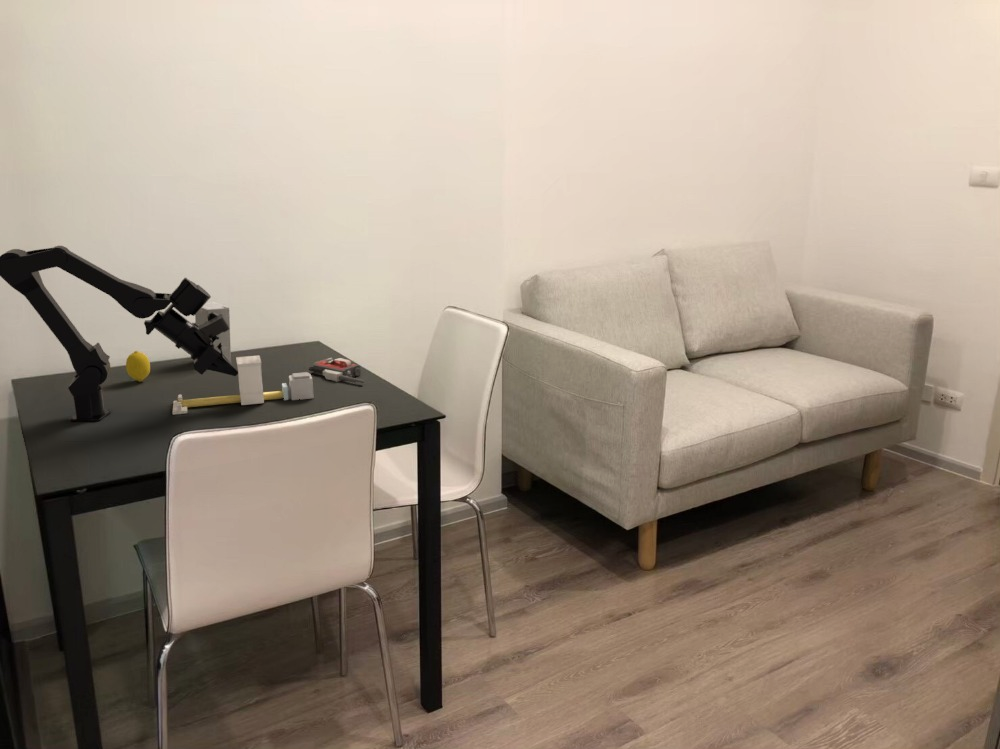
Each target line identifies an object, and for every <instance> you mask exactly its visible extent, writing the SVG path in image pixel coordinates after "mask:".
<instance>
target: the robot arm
mask: <svg viewBox="0 0 1000 749" xmlns="http://www.w3.org/2000/svg"><path fill="white" fill-rule="evenodd" d="M53 268H59V269H61V270H62V271H64V272H66V273H68V274H70V275H72V276H74V277H76V278H77V279H79V280H80V281H83V282H84V283H85V284H88V285H89V286H92V287H94V288H95V289H97V290H99V291H101V292H103V293H104V294H107V295H108V296H109V297H111V298H112V299H113V300H115V301H116V303H117V304H119V305H120V306H121V308H123V309H124V310H126V311H127V312H128V313H130V314H131V315H132V316H133V317H135V318H138V319H142V320H143V319H147V318H150V317H151V316H152V318H151V319H149V320H144V321H143V325H144V327H145V335H151V333H152V332H153V331H154V330H156V331H157V332H159V333H160V334H161V335H163V336H164V337H166V338H167V339H168V340H170V341H171V342H173V343H174V344H175V345H174V347H175V348H177V349H179V350H180V349H181V350H183V351H184V352H186V353H187V354H188V355H190V359H192V360H193V367H194V370H195V371H196V372H197V373H198V374H200V375H201V376H202V375H204V373H206V372H207V370H208V371H212V372H217V373H222V374H226V375H229V376H233V377H236V376H238V369H237V368H236V367H235V366H234V364H232V361H231V362H230V361H229V360H228V359H227V358H226V356H225V355H224V354H223V352H222V343H220V344H219V345H218V346H217V347H216V346H215V345H214V344H213V342H214V341H215V340H216V339H217V340H218V339H219V338H220V336H219V335H218V334H220V333H222V332H226V331H228V330H229V329H230V330H231V326H230V327H229V324H228V322H227V321H226V319H225V317H224V316H223V314H219V315H218V314H216V313H214V312H212V313H210V314H208V321H207V322H205V323H204V324H202V325H200V326H199V325H198V324H197V323H195V322H190V321H189V320H188V319H187V318H185V317H189V316H193V317H195V314H196V313H197V312H198V311H199V310H200V309H201V308H202V307H203V305H204V304H205V303H208V301H209V300H210V299H211V298H212V296H211V295H210V294H209V292H208V291H206V289H205V288H203V287H202V286H200V285H199V284H196V283H195V282H194V281H192V280H190V279H188V278H187V277H184V278H183V279H182V280H181V282H180V283H179V285H178V286H177V287H176V288H175V289H174V290H173V292H171V293H162V292H154V291H153V290H152V289H150V288H148V287H145V286H142V285H139V284H137V283H134V282H131V281H126V280H124V279H120V278H119V277H118V276H115V275H114V274H112V273H110V272H108V271H106V270H104V269H103V268H101V267H99V266H98V265H96V264H94V263H92V262H90V261H89V260H87V259H86V258H83V257H82V256H80V255H78V254H76V253H74V252H73V251H71V250H70V249H69V248H68V247H66V246H64V245H55V246H54V247H47V248H40V249H33V250H28V251H26V250H24V249H20V248H13V249H10V250H8V251H5V252H4V253H2V254H1V255H0V278H2V279H3V280H4V281H5V283H7V284H8V285H9V286H10V287H11V288H12V289H14V290H16V291H17V292H18V293H20V294H21V295H23V296H24V297H25V298H26V300H27V301H28V302H29V304H30V305H31V306H32V308H33V309H34V310H35V312H36V313H37V314H38V315H39V316H40V318H41V319H42V321H43V322H44V323H45V324H46V326H47V327H48V329H49V330H50V331H51V332H52V333H53V335H54V337H55V338H56V340H58V341H59V343H60V344H61V345H62V347H63V349H64V350H66V352H67V354H68V357H69V360H70V363H71V365H72V368H73V369H74V371H75V375H74V376H73V378H72V380H71V382H70V384H69V386H68V390H69V392H70V394H71V396H72V397H73V403H74V404H73V405H74V410H75V414H74V415H73V416H71V417H70V418H69V421H70V422H97V421H98V422H99V421H101V420H102V419H104V418H105V417H106V416H108V415H109V414H110V413H112V409H108V408H107V409H106V408H105V405H104V395H103V389H102V384H103V383H105V381H106V380H107V378H108V376H109V373H110V369H111V363H110V357H111V356H110V355H108V354H107V353H106V352H105V351H104V349H103V348H102V345H101V344H100V342H96V344H94V345H92V343H89V342H88V341H87V340H86V339H85V338H84V337H83V335H82V334H81V333H80V332H79V330H78V329H77V327H76V326H75V324H74V323H73V322H72V320H70V318H69V317H68V315H67V314H66V313H65V311H64V310H63V309H62V307H61V306H60V305H59V303H58V302H57V301H56V299H55V298H54V297H53V296H52V294H51V293H50V291H49V290H48V289H47V287H46V286H45V285H44V282H43V280H42V276H41V274H40V271H44V270H49V269H53ZM162 310H163V311H162ZM154 314H155V315H154ZM181 314H182V315H183V316H182V315H181ZM153 315H154V316H153ZM184 316H185V317H184Z"/></svg>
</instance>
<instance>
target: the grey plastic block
mask: <svg viewBox="0 0 1000 749" xmlns="http://www.w3.org/2000/svg"><path fill="white" fill-rule="evenodd" d="M313 381H314V380H313V377H312V375H311V373H309V372H308V371H305V372H304V371H303V372H294V373H293V372H292V374H291V375H288V383H289V386H288V385H287V382H284V383H283V382H282V383H281V391H283V396H284V399H283V401H289V400H291V401H298V400H299V399H300V400H307V399H309V400H310V399H314V398H315V397H314V386H313V385H314V384H313Z"/></svg>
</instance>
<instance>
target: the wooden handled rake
mask: <svg viewBox="0 0 1000 749" xmlns="http://www.w3.org/2000/svg"><path fill="white" fill-rule="evenodd" d="M263 397H264V401H271V400H280V399H283V398H284V396H283V391H282V390H277V391H263ZM237 403H238V404H239V403H240V404H241V397H240V394H234V395H233V394H232V395H231V394H230V395H223V396H222V395H221V396H212V397H211V396H210V397H202V398H191V399H183V395H182V394H178V395H177V400H173V403H172V404H173V405H172V415H182V414H188V408H197V407H209V406H216V405H217V406H218V405H226V404H227V405H229V404H237Z"/></svg>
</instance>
